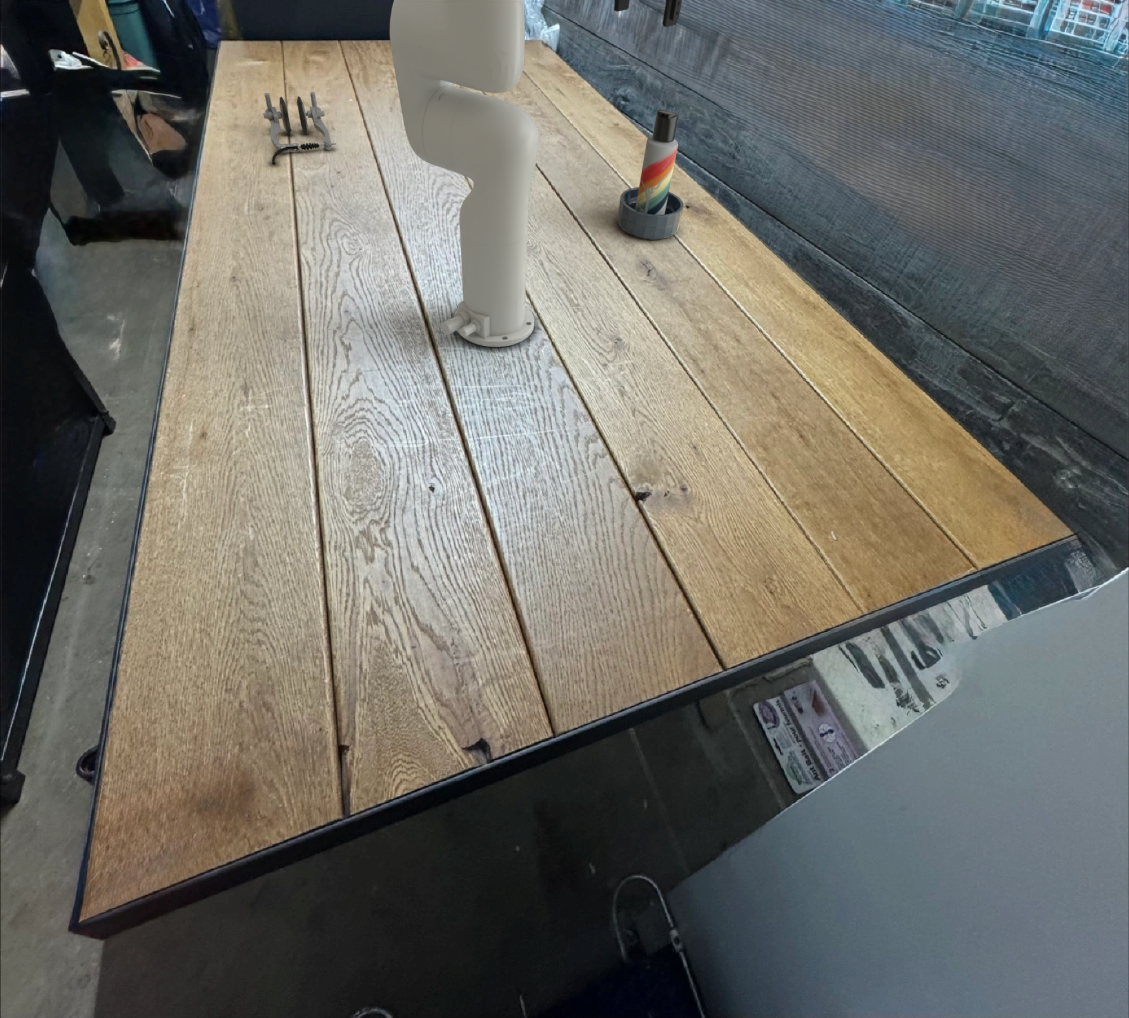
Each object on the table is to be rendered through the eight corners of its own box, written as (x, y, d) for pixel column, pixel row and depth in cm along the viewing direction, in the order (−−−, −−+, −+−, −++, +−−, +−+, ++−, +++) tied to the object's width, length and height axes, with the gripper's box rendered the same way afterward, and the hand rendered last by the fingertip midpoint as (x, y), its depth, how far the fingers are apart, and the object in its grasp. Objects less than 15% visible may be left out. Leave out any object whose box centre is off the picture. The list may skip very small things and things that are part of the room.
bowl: (655, 248, 123) (660, 222, 120) (604, 225, 128) (607, 199, 124) (689, 227, 130) (695, 202, 126) (639, 206, 134) (644, 181, 131)
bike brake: (261, 121, 144) (275, 174, 135) (254, 88, 138) (267, 141, 129) (325, 119, 148) (342, 170, 139) (321, 87, 142) (338, 138, 133)
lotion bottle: (628, 224, 127) (646, 111, 112) (640, 213, 131) (659, 102, 116) (655, 233, 126) (677, 119, 111) (666, 222, 129) (689, 110, 114)
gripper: (601, -140, 93) (588, 7, 106) (702, -119, 87) (675, 35, 100) (633, -140, 97) (616, 1, 110) (731, -121, 91) (702, 28, 104)
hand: (644, 17), depth 105 cm, fingers open, 9 cm apart
